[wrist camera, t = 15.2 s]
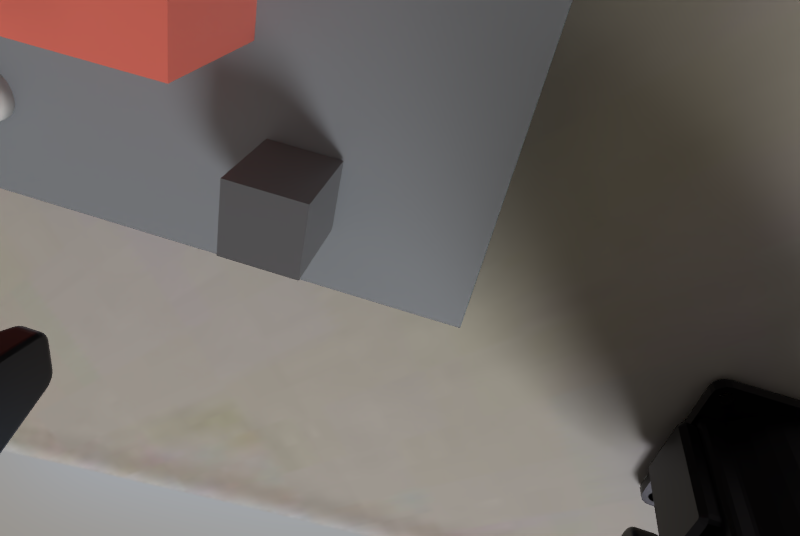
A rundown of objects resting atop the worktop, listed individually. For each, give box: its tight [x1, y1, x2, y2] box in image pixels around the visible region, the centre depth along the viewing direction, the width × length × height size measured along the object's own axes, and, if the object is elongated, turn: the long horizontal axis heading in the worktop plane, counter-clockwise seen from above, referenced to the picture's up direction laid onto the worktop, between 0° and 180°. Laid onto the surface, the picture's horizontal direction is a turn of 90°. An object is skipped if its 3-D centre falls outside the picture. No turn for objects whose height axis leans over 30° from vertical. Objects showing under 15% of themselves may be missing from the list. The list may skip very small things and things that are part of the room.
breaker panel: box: [0, 0, 573, 328], centre depth 17 cm, size 18×14×2 cm
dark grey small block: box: [217, 139, 344, 280], centre depth 17 cm, size 2×2×3 cm
